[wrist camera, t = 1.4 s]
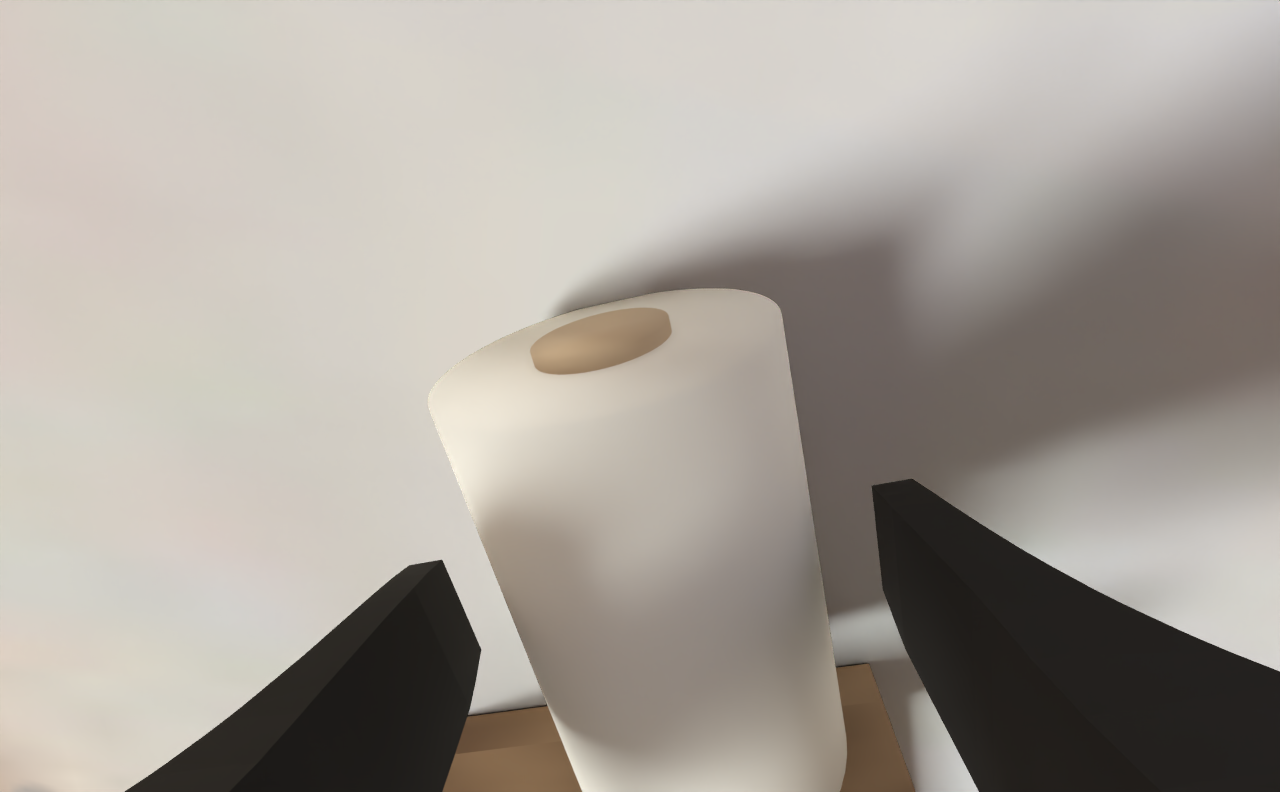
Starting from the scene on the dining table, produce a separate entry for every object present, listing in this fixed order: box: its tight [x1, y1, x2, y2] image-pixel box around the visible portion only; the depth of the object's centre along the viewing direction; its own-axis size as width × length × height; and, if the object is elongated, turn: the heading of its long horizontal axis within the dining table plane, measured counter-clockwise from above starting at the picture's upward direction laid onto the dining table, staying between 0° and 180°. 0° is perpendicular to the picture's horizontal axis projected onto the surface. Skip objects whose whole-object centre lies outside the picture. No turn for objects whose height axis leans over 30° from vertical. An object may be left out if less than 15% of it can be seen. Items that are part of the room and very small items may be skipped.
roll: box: [427, 288, 847, 792], centre depth 10 cm, size 5×8×5 cm, turn 13°
